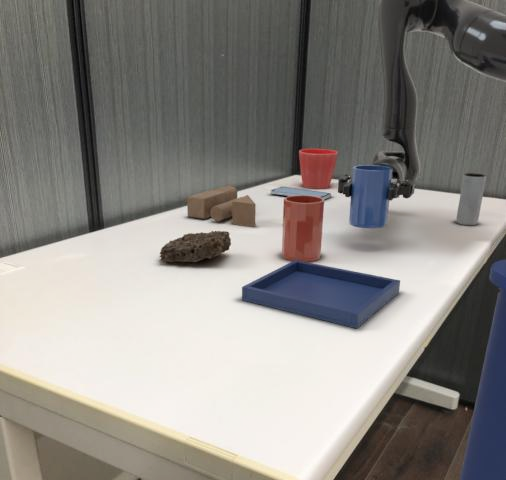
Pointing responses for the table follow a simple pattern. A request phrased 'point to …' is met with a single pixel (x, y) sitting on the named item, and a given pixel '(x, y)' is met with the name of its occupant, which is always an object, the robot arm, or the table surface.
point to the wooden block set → (222, 206)
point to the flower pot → (317, 167)
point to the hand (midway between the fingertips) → (368, 192)
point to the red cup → (302, 228)
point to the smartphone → (299, 192)
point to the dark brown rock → (196, 247)
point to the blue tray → (322, 292)
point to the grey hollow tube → (470, 198)
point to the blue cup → (370, 196)
